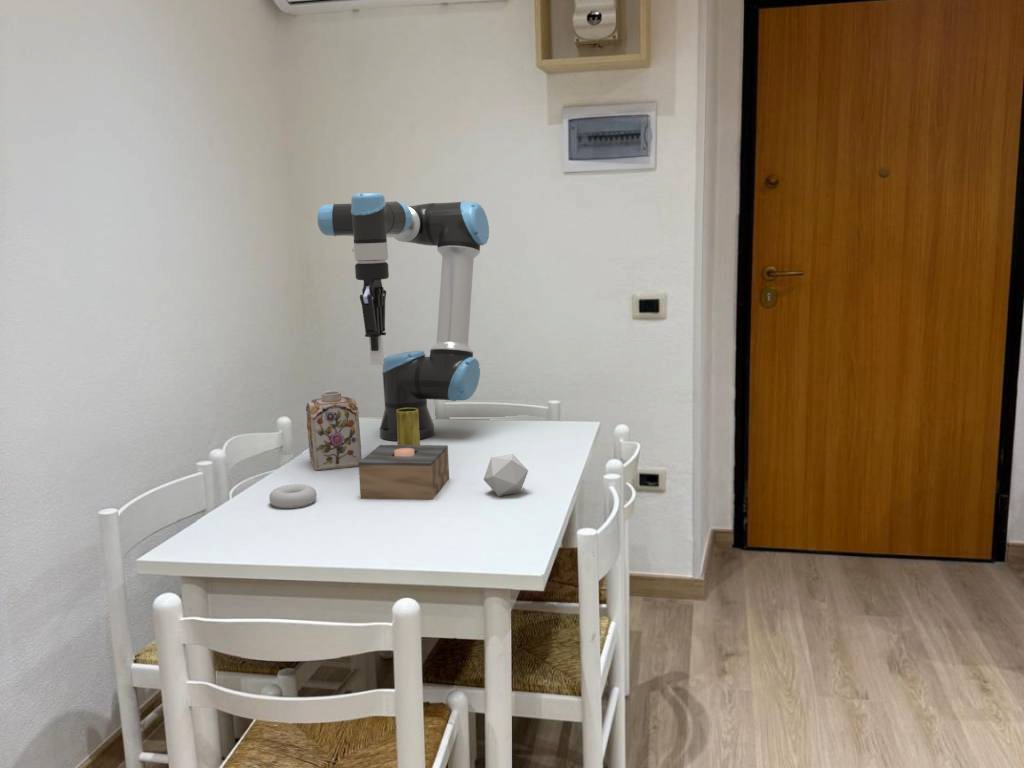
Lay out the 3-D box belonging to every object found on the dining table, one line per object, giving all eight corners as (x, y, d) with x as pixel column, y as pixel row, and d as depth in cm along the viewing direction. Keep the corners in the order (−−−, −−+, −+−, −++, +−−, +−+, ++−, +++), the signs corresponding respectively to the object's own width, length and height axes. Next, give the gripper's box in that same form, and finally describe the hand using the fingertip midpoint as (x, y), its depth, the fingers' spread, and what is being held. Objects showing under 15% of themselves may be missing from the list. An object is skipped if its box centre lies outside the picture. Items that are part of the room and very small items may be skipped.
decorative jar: (355, 455, 246) (351, 386, 243) (363, 466, 235) (358, 394, 232) (308, 460, 243) (303, 390, 239) (313, 471, 232) (308, 398, 229)
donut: (312, 495, 213) (266, 501, 209) (311, 480, 212) (265, 485, 209) (321, 507, 204) (273, 513, 200) (320, 491, 203) (272, 497, 199)
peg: (399, 480, 217) (397, 447, 216) (418, 480, 216) (416, 447, 215) (393, 486, 213) (391, 452, 211) (413, 486, 212) (411, 452, 211)
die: (517, 487, 215) (489, 453, 214) (542, 474, 209) (513, 439, 208) (498, 510, 209) (468, 475, 208) (523, 497, 203) (493, 461, 202)
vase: (418, 470, 229) (415, 412, 227) (394, 470, 230) (390, 412, 228) (425, 464, 235) (423, 407, 233) (401, 463, 236) (398, 407, 234)
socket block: (382, 478, 224) (380, 444, 222) (449, 479, 221) (447, 445, 220) (360, 498, 208) (358, 462, 207) (432, 499, 205) (430, 463, 204)
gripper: (364, 260, 226) (370, 360, 230) (346, 263, 213) (352, 368, 217) (395, 260, 225) (400, 359, 229) (379, 263, 212) (385, 368, 216)
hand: (377, 364), depth 223 cm, fingers closed
